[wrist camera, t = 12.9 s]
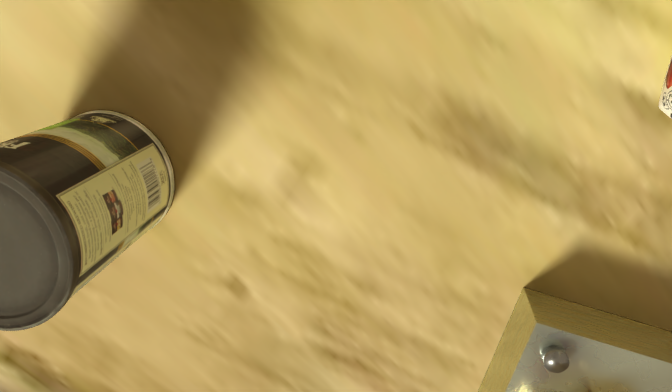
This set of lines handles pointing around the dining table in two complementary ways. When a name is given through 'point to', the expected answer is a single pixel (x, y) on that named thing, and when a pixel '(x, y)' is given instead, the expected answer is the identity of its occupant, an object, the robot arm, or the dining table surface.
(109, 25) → the dining table surface
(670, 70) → the juice carton
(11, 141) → the coffee can
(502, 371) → the metal socket fixture
